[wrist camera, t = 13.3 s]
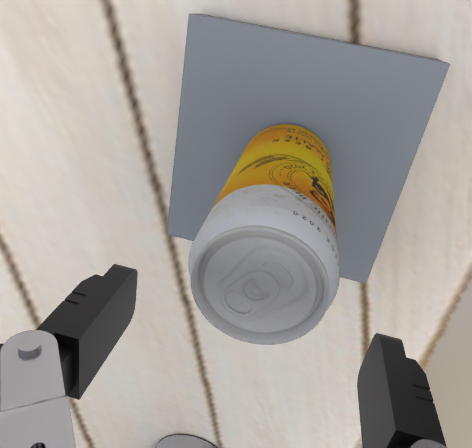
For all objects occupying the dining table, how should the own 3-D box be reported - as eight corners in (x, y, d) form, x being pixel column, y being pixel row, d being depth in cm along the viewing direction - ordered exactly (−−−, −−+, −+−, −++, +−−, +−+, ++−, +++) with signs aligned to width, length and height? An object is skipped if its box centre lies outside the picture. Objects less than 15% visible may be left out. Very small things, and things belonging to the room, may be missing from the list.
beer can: (349, 169, 28) (375, 305, 15) (281, 220, 31) (253, 374, 18) (291, 102, 27) (263, 184, 14) (225, 160, 30) (149, 278, 16)
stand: (362, 263, 34) (365, 283, 32) (178, 218, 36) (166, 234, 33) (438, 59, 27) (450, 63, 24) (201, 14, 29) (188, 13, 26)
